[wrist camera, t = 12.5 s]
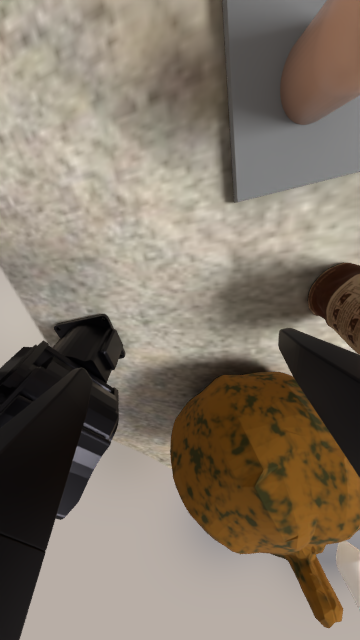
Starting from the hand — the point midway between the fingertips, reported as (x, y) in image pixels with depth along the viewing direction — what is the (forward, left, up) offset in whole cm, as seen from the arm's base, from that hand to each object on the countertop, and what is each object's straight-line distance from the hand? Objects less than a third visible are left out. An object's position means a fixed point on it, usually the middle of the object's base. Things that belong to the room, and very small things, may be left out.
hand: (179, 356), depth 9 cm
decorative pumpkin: (+5, -22, -13) cm, 26 cm away
